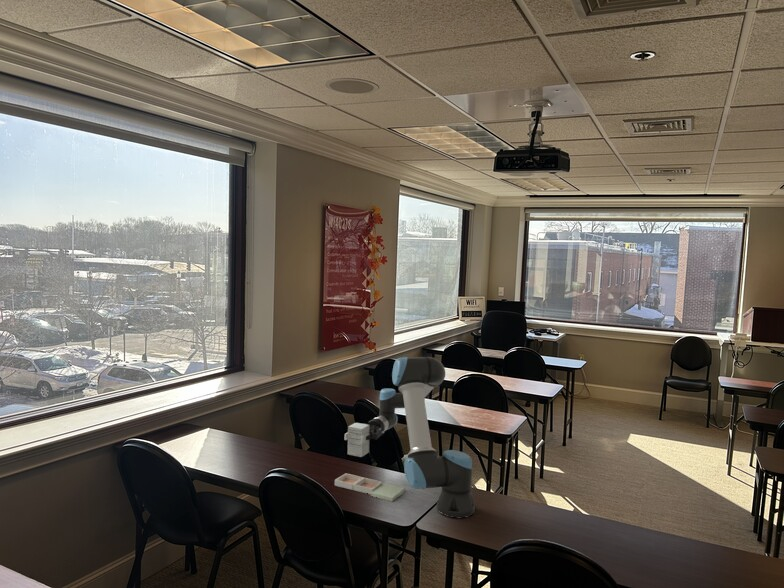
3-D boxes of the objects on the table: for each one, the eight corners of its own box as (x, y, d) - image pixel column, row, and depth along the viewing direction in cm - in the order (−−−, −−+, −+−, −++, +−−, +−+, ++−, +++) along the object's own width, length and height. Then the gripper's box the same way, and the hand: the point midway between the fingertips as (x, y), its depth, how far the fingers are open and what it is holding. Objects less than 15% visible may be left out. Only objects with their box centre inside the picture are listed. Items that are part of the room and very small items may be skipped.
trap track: (404, 491, 239) (404, 485, 239) (392, 501, 228) (392, 495, 228) (347, 477, 252) (347, 472, 252) (332, 486, 241) (333, 481, 241)
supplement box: (354, 449, 251) (355, 422, 250) (369, 452, 248) (370, 424, 247) (346, 454, 244) (347, 426, 243) (361, 457, 241) (362, 428, 240)
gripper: (396, 437, 257) (373, 451, 237) (358, 430, 266) (333, 443, 246) (397, 421, 257) (374, 433, 236) (359, 415, 266) (333, 426, 245)
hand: (353, 438), depth 241 cm, fingers closed on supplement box, 7 cm apart
